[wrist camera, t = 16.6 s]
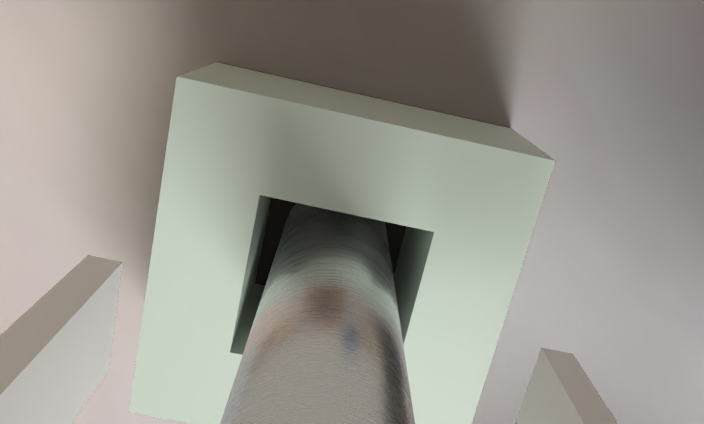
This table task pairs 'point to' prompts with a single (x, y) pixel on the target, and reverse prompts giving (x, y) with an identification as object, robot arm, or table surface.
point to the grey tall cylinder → (325, 330)
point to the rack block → (338, 195)
